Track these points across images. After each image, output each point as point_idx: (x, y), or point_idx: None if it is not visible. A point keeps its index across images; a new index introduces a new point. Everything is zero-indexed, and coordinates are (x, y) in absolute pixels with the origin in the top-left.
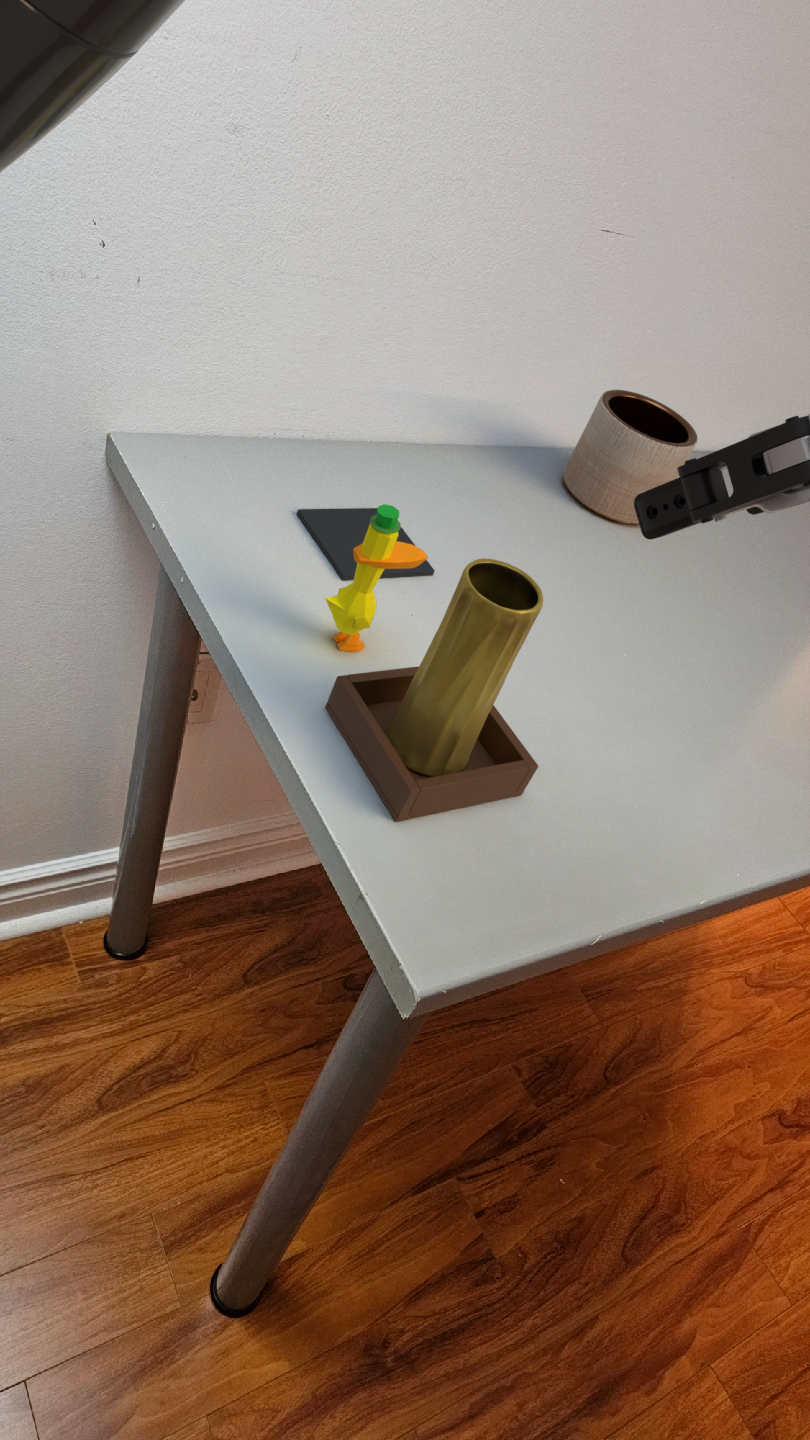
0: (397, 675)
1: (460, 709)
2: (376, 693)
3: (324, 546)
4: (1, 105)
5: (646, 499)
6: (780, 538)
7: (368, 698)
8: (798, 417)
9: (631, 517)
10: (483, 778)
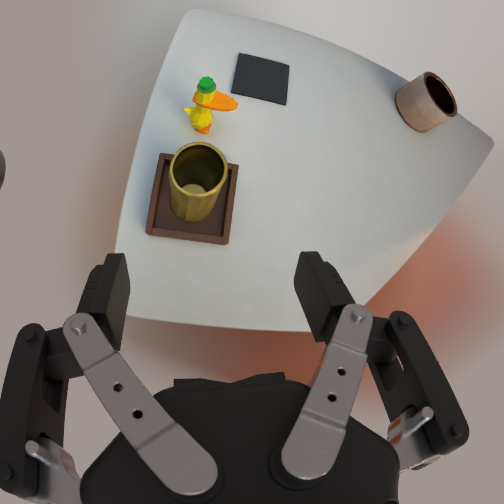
0: None
1: (180, 208)
2: None
3: (235, 74)
4: None
5: (88, 277)
6: (468, 171)
7: None
8: (6, 480)
9: (413, 125)
10: (190, 238)
